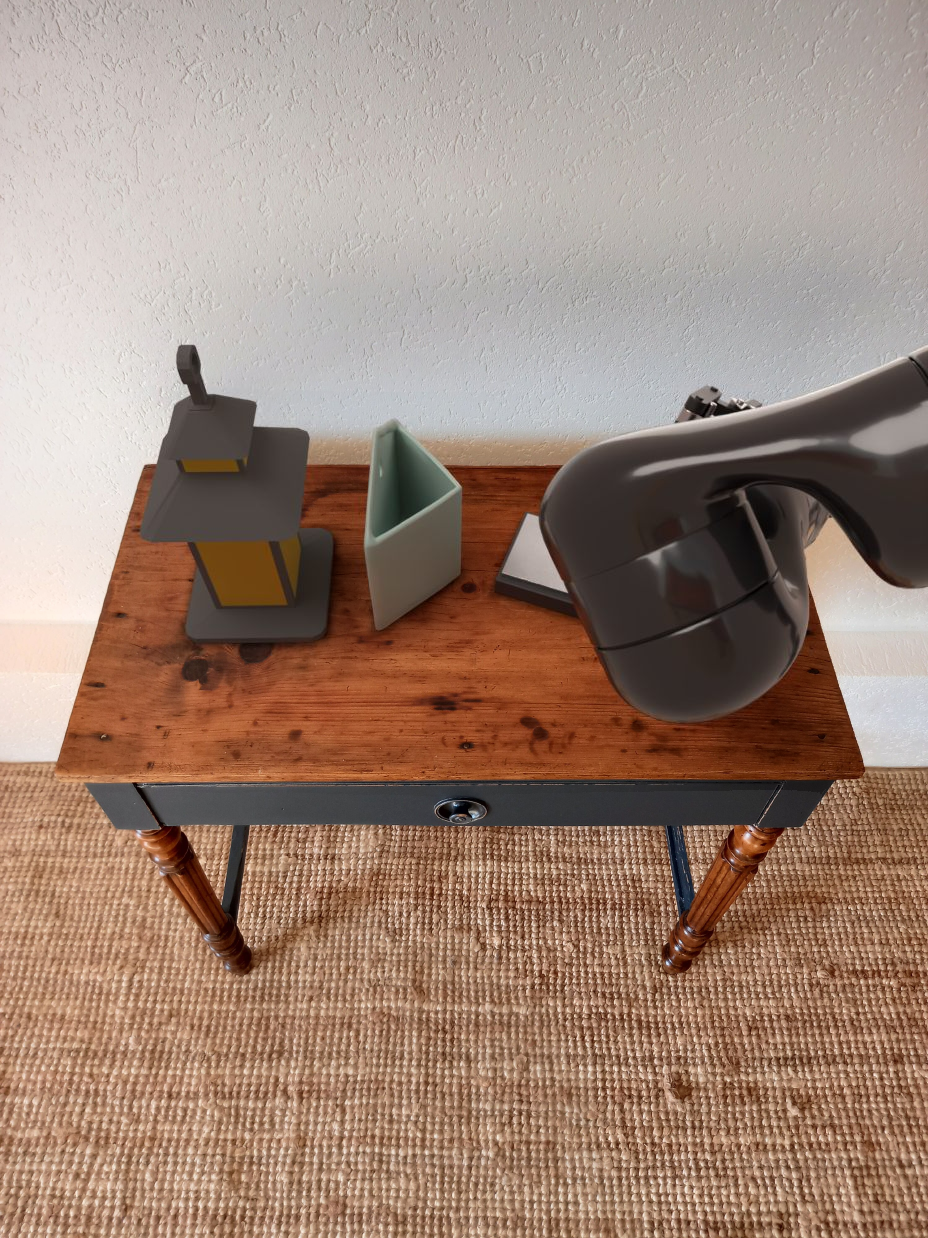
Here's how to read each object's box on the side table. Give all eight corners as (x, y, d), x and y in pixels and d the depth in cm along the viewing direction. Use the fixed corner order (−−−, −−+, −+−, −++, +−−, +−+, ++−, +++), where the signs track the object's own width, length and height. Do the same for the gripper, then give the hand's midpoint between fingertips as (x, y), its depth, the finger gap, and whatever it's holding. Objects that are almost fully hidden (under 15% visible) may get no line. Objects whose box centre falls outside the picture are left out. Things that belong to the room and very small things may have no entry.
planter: (452, 638, 81) (452, 508, 65) (374, 630, 82) (355, 500, 65) (468, 515, 90) (472, 374, 74) (398, 509, 91) (387, 367, 74)
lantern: (185, 643, 80) (64, 417, 55) (206, 534, 88) (108, 292, 63) (325, 641, 81) (269, 415, 56) (334, 533, 88) (288, 291, 63)
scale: (610, 549, 88) (614, 533, 85) (585, 620, 83) (589, 605, 80) (523, 524, 90) (525, 507, 87) (494, 592, 84) (495, 576, 82)
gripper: (934, 498, 38) (939, 448, 51) (678, 357, 42) (743, 345, 55) (837, 619, 42) (865, 544, 55) (611, 480, 46) (687, 441, 59)
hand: (804, 444), depth 55 cm, fingers open, 8 cm apart
